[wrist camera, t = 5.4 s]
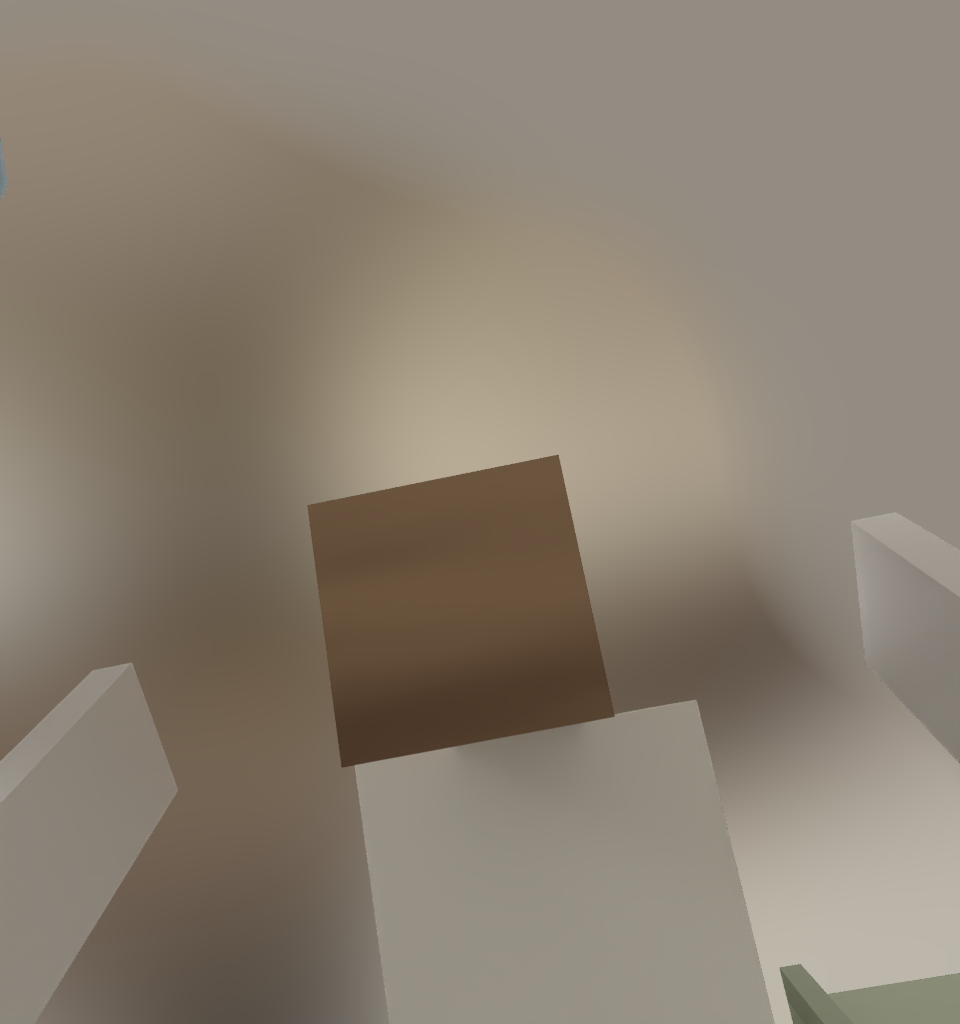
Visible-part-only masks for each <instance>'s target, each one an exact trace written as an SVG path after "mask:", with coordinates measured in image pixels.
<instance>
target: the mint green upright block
mask: <svg viewBox="0 0 960 1024" xmlns="http://www.w3.org/2000/svg"><path fill="white" fill-rule="evenodd" d="M780 972H781V976H782V980H783V984H784V988H785V991H786V996H787V1000H788V1004H789V1008H790V1012H791V1016H792V1020H793V1024H960V973H958V974H951V975H945V976H939V977H932V978H926V979H920V980H914V981H907V982H901V983H895V984H888V985H882V986H876V987H870V988H863V989H857V990H851V991H844V992H839V993H832V994H826V992H825V991H824V990H823V989H822V988H821V987H820V986H819V984H818V983H817V982H816V981H815V980H814V979H813V978H812V977H811V975H810V974H809V973H808V972H807V971H806V970H805V969H804V968H803V966H801V964H799V965H792V966H786V967H781V968H780Z"/></svg>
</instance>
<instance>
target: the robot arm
mask: <svg viewBox="0 0 960 1024" xmlns="http://www.w3.org/2000/svg"><path fill="white" fill-rule="evenodd" d="M6 188H7V177H6V170H5V163H4V156H3V151H2V145H1V140H0V198H1V197H2V196H3V195H4V194H5V191H6ZM851 527H852V537H853V546H854V556H855V566H856V576H857V585H858V595H859V605H860V615H861V625H862V634H863V644H864V654H865V663H866V665H867V666H868V667H869V668H870V669H871V670H872V671H873V672H874V673H875V674H876V675H877V676H878V677H879V679H881V681H882V682H883V683H884V684H885V685H886V686H887V687H888V688H889V689H890V690H891V691H892V692H893V693H894V694H895V695H896V697H898V699H899V700H900V701H901V702H902V703H903V704H904V705H905V706H906V707H907V708H908V709H909V710H910V711H911V712H912V713H913V714H914V716H915V717H916V718H917V719H918V720H919V721H920V722H921V723H922V724H923V725H924V726H925V727H926V728H927V729H928V730H929V731H930V732H931V734H932V735H933V736H934V737H935V738H936V739H937V740H938V741H939V742H940V743H941V744H942V745H943V746H944V747H945V748H946V749H947V750H948V752H949V753H950V754H951V755H952V756H953V757H954V758H955V759H956V760H957V761H958V762H959V763H960V550H958V549H957V548H955V547H953V546H952V545H950V544H948V543H946V542H945V541H943V540H942V539H940V538H938V537H937V536H935V535H933V534H932V533H930V532H928V531H926V530H925V529H923V528H921V527H920V526H918V525H916V524H915V523H913V522H911V521H910V520H908V519H906V518H905V517H903V516H901V515H900V514H898V513H896V512H894V513H889V514H884V515H880V516H874V517H869V518H864V519H859V520H854V521H851ZM177 791H178V789H177V786H176V783H175V780H174V778H173V775H172V772H171V769H170V767H169V764H168V761H167V758H166V755H165V753H164V750H163V747H162V744H161V742H160V739H159V736H158V733H157V730H156V728H155V725H154V722H153V720H152V717H151V714H150V711H149V708H148V706H147V703H146V700H145V697H144V694H143V692H142V689H141V686H140V683H139V681H138V678H137V675H136V673H135V670H134V667H133V664H132V663H128V664H123V665H118V666H112V667H107V668H102V669H97V670H93V671H92V672H91V673H90V674H89V675H88V676H87V677H86V678H85V679H84V680H83V681H82V682H81V683H80V684H79V685H78V686H77V687H76V688H75V689H73V690H72V691H71V692H70V693H69V694H68V695H67V696H66V697H65V698H64V699H63V700H62V701H61V702H60V704H58V705H57V706H56V707H55V708H54V709H53V710H52V711H51V712H50V713H49V714H48V715H47V716H46V717H45V718H44V719H43V720H42V721H41V722H40V723H39V724H38V725H37V726H36V727H35V728H34V729H33V730H32V731H31V732H30V733H29V734H28V735H27V736H26V737H25V738H24V739H23V740H22V741H21V742H20V743H19V744H18V745H17V746H16V747H15V748H14V749H13V750H12V751H11V752H10V753H8V755H7V756H5V758H3V759H2V761H0V1024H34V1023H35V1022H36V1020H37V1018H38V1017H39V1015H40V1014H41V1012H42V1010H43V1009H44V1007H45V1006H46V1003H47V1002H48V1000H49V999H50V997H51V996H52V994H53V993H54V991H55V989H56V987H57V986H58V984H59V983H60V981H61V980H62V978H63V976H64V975H65V973H66V971H67V970H68V968H69V966H70V965H71V963H72V962H73V960H74V958H75V957H76V955H77V953H78V952H79V950H80V949H81V947H82V945H83V944H84V942H85V941H86V939H87V937H88V936H89V934H90V932H91V931H92V929H93V928H94V926H95V924H96V923H97V921H98V919H99V918H100V916H101V914H102V913H103V911H104V910H105V908H106V906H107V905H108V903H109V902H110V900H111V898H112V897H113V895H114V893H115V892H116V890H117V889H118V887H119V885H120V884H121V882H122V880H123V879H124V877H125V876H126V874H127V872H128V870H129V869H130V867H131V866H132V864H133V863H134V861H135V859H136V858H137V856H138V854H139V853H140V851H141V850H142V848H143V846H144V845H145V843H146V841H147V840H148V838H149V837H150V835H151V833H152V832H153V830H154V828H155V827H156V825H157V824H158V822H159V820H160V819H161V817H162V815H163V814H164V812H165V811H166V808H167V807H168V806H169V804H170V802H171V801H172V799H173V798H174V796H175V794H176V793H177Z"/></svg>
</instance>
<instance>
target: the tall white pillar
mask: <svg viewBox="0 0 960 1024" xmlns="http://www.w3.org/2000/svg"><path fill="white" fill-rule="evenodd" d="M614 715H615V717H611V718H606V719H600V720H595V721H590V722H584V723H579V724H573V725H568V726H563V727H557V728H552V729H547V730H541V731H536V732H530V733H525V734H520V735H514V736H509V737H504V738H498V739H493V740H487V741H482V742H477V743H471V744H466V745H461V746H455V747H450V748H444V749H439V750H434V751H428V752H423V753H418V754H412V755H407V756H401V757H396V758H391V759H385V760H380V761H375V762H369V763H364V764H358V765H355V771H356V779H357V786H358V794H359V801H360V808H361V816H362V823H363V830H364V838H365V846H366V852H367V860H368V867H369V875H370V882H371V889H372V898H373V904H374V912H375V919H376V927H377V935H378V942H379V950H380V957H381V963H382V972H383V979H384V987H385V994H386V1001H387V1009H388V1016H389V1024H775V1023H774V1019H773V1015H772V1010H771V1006H770V1002H769V998H768V994H767V990H766V986H765V981H764V977H763V973H762V969H761V965H760V961H759V957H758V953H757V948H756V944H755V940H754V936H753V932H752V928H751V923H750V920H749V916H748V911H747V907H746V903H745V899H744V895H743V891H742V886H741V882H740V878H739V874H738V870H737V865H736V861H735V857H734V853H733V849H732V845H731V841H730V836H729V833H728V828H727V824H726V820H725V816H724V812H723V807H722V804H721V799H720V795H719V791H718V787H717V783H716V779H715V775H714V770H713V766H712V762H711V758H710V754H709V749H708V745H707V741H706V737H705V733H704V729H703V725H702V721H701V716H700V712H699V708H698V704H697V700H693V701H687V702H681V703H675V704H669V705H663V706H658V707H652V708H647V709H642V710H636V711H631V712H625V713H621V714H614Z"/></svg>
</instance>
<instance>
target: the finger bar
mask: <svg viewBox="0 0 960 1024" xmlns="http://www.w3.org/2000/svg"><path fill="white" fill-rule="evenodd" d="M308 513H309V521H310V528H311V536H312V544H313V552H314V559H315V567H316V574H317V582H318V590H319V598H320V604H321V613H322V621H323V628H324V635H325V644H326V651H327V659H328V666H329V674H330V682H331V689H332V697H333V705H334V712H335V720H336V727H337V734H338V743H339V750H340V758H341V766H342V767H348V766H353V765H358V764H364V763H369V762H375V761H380V760H385V759H391V758H396V757H401V756H407V755H412V754H418V753H423V752H428V751H434V750H439V749H444V748H450V747H455V746H461V745H466V744H471V743H477V742H482V741H487V740H493V739H498V738H504V737H509V736H514V735H520V734H525V733H530V732H536V731H541V730H547V729H552V728H557V727H563V726H568V725H573V724H579V723H584V722H590V721H595V720H600V719H606V718H611V717H615V715H614V711H613V706H612V702H611V697H610V692H609V688H608V683H607V678H606V674H605V669H604V665H603V660H602V655H601V651H600V646H599V641H598V636H597V632H596V627H595V623H594V618H593V613H592V608H591V604H590V599H589V595H588V590H587V585H586V581H585V576H584V572H583V567H582V562H581V557H580V553H579V548H578V543H577V539H576V534H575V530H574V525H573V521H572V516H571V511H570V506H569V502H568V497H567V492H566V488H565V484H564V478H563V474H562V469H561V465H560V460H559V455H556V456H550V457H545V458H540V459H536V460H530V461H525V462H520V463H515V464H510V465H505V466H501V467H495V468H491V469H485V470H481V471H476V472H471V473H466V474H460V475H456V476H451V477H446V478H441V479H436V480H431V481H426V482H421V483H416V484H411V485H406V486H401V487H396V488H391V489H386V490H381V491H376V492H371V493H366V494H361V495H356V496H351V497H346V498H341V499H337V500H331V501H326V502H322V503H316V504H311V505H308Z"/></svg>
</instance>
